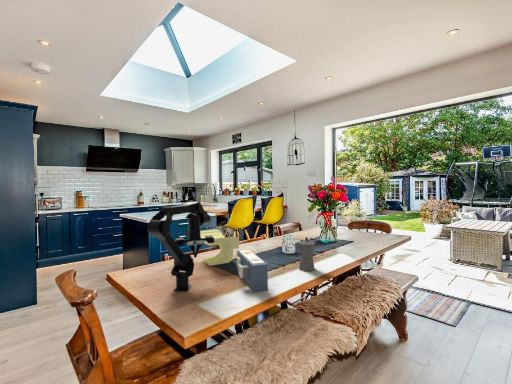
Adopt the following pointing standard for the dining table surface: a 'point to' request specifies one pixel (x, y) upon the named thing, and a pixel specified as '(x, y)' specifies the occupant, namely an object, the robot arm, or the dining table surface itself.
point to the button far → (239, 261)
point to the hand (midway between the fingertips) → (195, 257)
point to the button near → (243, 270)
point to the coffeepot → (306, 255)
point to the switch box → (254, 270)
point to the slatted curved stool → (225, 247)
